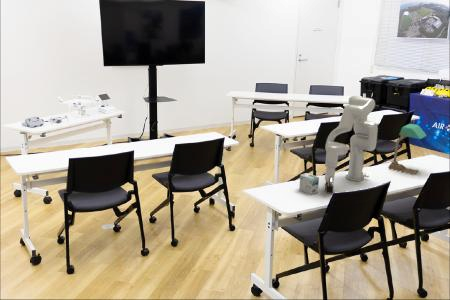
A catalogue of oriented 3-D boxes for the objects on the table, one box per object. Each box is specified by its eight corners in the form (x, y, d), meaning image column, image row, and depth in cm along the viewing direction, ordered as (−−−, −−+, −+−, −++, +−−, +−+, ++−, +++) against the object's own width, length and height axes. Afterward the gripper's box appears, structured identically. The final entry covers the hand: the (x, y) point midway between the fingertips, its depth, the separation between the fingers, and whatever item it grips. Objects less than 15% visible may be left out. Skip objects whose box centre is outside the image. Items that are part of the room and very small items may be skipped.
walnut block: (332, 191, 294) (332, 183, 293) (332, 193, 289) (333, 186, 288) (324, 190, 295) (325, 183, 293) (324, 193, 290) (325, 186, 288)
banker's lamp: (393, 165, 351) (400, 121, 341) (421, 171, 338) (428, 126, 328) (386, 170, 339) (392, 124, 329) (414, 176, 326) (421, 129, 316)
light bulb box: (318, 192, 291) (319, 176, 288) (311, 194, 286) (312, 179, 283) (305, 187, 298) (306, 172, 295) (298, 189, 294) (299, 174, 291)
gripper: (324, 159, 295) (321, 184, 300) (326, 167, 279) (323, 193, 283) (335, 160, 294) (333, 185, 299) (338, 168, 278) (336, 194, 283)
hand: (328, 189), depth 291 cm, fingers open, 9 cm apart
